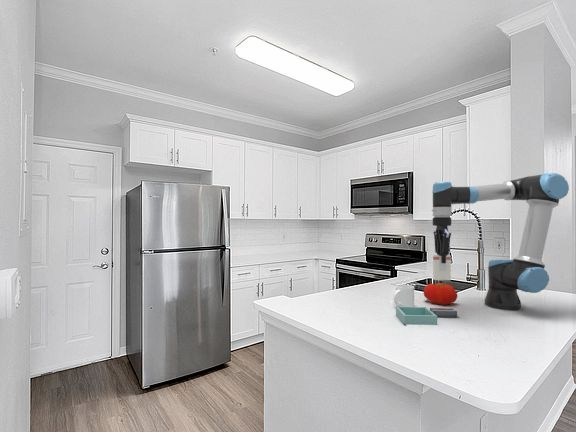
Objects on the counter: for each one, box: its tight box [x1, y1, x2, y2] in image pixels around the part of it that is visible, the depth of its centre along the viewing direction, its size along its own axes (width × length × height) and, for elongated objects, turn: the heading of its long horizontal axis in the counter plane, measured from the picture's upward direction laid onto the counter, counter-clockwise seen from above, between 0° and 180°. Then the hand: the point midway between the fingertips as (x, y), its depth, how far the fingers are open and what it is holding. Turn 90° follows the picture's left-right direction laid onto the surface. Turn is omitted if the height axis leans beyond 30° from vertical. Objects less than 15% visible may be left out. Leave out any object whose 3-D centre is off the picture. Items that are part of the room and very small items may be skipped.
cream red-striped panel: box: [432, 254, 452, 281], centre depth 142 cm, size 7×1×11 cm, turn 86°
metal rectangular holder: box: [429, 307, 461, 319], centre depth 143 cm, size 12×8×3 cm, turn 86°
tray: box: [395, 306, 438, 326], centre depth 137 cm, size 13×13×4 cm
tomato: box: [423, 282, 458, 306], centre depth 164 cm, size 14×16×10 cm
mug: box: [393, 283, 415, 307], centre depth 157 cm, size 12×8×10 cm
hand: (441, 270), depth 142 cm, fingers closed on cream red-striped panel, 1 cm apart
